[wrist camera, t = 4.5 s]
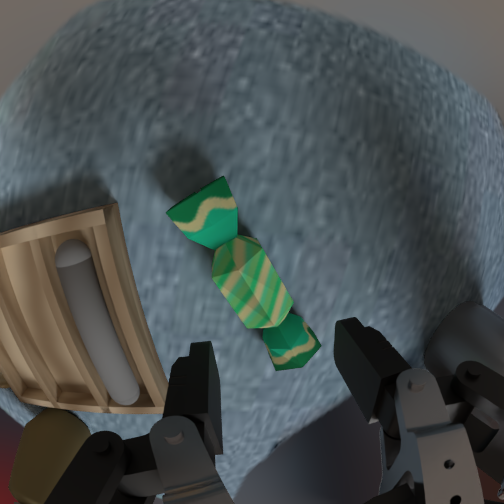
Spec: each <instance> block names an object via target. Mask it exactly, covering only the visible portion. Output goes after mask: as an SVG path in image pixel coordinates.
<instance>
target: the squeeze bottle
mask: <svg viewBox="0 0 504 504" xmlns="http://www.w3.org/2000/svg"><path fill="white" fill-rule="evenodd" d="M89 436H91V433H90V430H89V429H88V428H87V426H86V425H85V424H84V423H83V422H82V421H80V420H79V419H78V418H77V417H75V416H74V415H72V414H70V413H68V412H67V411H64V410H62V409H59V408H52V407H48V408H46V409H45V410H43V411H42V412H41V413H40V414H38V415H37V416H36V417H34V418H33V419H32V420H31V421H29V422H28V423H27V424H26V425H25V428H24V431H23V434H22V437H21V440H20V443H19V447H18V450H17V454H16V457H15V462H14V465H13V469H12V473H11V477H10V482H9V487H8V488H9V490H10V492H11V493H12V495H13V496H14V498H15V499H16V500H17V501H18V502H19V503H17V502H14V504H44V502H45V501H46V499H47V498H48V496H49V495H50V493H51V492H52V490H53V488H54V487H55V485H56V484H57V482H58V481H59V479H60V478H61V476H62V475H63V473H64V472H65V470H66V469H67V467H68V466H69V464H70V463H71V461H72V460H73V458H74V457H75V455H76V454H77V452H78V451H79V449H80V448H81V446H82V445H83V443H84V442H85V440H86V439H87V438H88V437H89Z"/></svg>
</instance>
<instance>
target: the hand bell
mask: <svg viewBox="0 0 504 504" xmlns="http://www.w3.org/2000/svg"><path fill="white" fill-rule="evenodd" d="M9 387H10V385H9V384H8V382H7V381H6V379H5V377H4V376H3V374H2V373H1V371H0V388H9Z"/></svg>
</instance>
